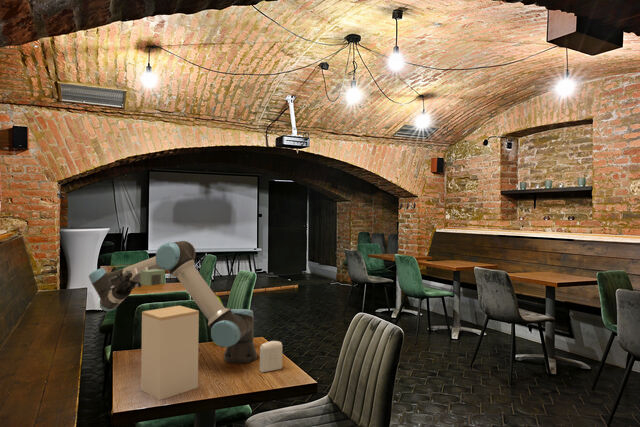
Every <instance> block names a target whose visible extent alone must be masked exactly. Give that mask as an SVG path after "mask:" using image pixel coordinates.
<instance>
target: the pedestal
mask: <svg viewBox="0 0 640 427" xmlns="http://www.w3.org/2000/svg"><path fill="white" fill-rule="evenodd" d="M199 315H200V311H199V310H198V309H197V310H196V309H194V308H190V307H187V306H182V305H174V306H167V307H162V308H155V309H149V310H144V311H142V312H141V357H140V358H141V359H140V360H141V362H140V363H141V364H140V365H141V368H140V369H141V371H140V372H141V374H140V375H141V376H140V377H141V378H140V390H141V391H142V392H145V393H146V394H147V395H150V396H152V397H153V398H155V399H156V400H159V401H161V400H164V399H167V398H170V397H174V396H177V395H180V394H182V393H185V392H188V391H192V390H195V389H198V388H199V327H200V324H199V320H200V318H199V317H200V316H199Z"/></svg>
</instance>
